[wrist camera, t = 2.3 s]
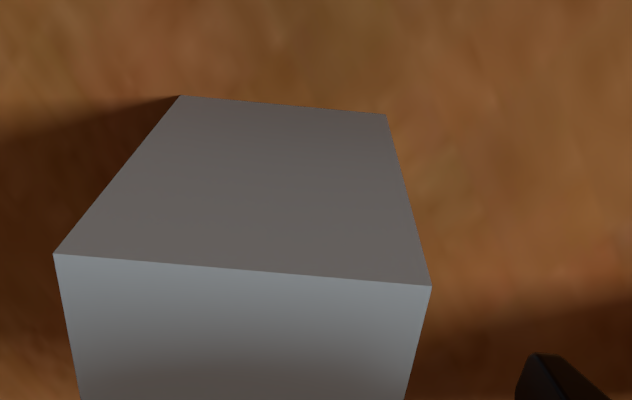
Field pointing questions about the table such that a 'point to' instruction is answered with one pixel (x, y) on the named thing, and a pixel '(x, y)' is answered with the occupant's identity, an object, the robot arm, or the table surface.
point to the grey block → (248, 261)
